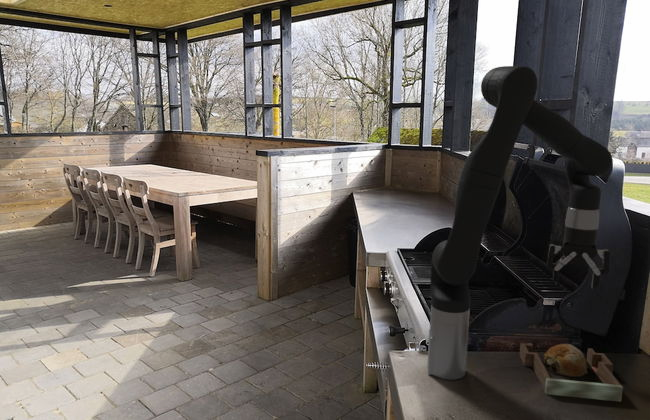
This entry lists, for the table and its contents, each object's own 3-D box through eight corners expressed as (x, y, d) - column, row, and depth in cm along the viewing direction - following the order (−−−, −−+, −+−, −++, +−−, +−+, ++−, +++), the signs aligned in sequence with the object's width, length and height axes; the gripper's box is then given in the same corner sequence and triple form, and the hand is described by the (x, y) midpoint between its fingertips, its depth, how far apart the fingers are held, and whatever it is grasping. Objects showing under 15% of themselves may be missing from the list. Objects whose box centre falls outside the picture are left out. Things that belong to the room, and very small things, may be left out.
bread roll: (582, 393, 120) (600, 367, 118) (544, 372, 121) (561, 346, 119) (570, 373, 129) (587, 349, 127) (535, 354, 130) (551, 330, 128)
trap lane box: (536, 393, 113) (538, 379, 112) (519, 354, 132) (520, 342, 131) (630, 402, 109) (632, 388, 109) (598, 361, 128) (600, 349, 127)
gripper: (551, 225, 123) (545, 286, 126) (615, 230, 118) (608, 294, 121) (550, 220, 130) (544, 278, 133) (611, 225, 125) (603, 285, 128)
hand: (574, 285), depth 127 cm, fingers open, 8 cm apart
